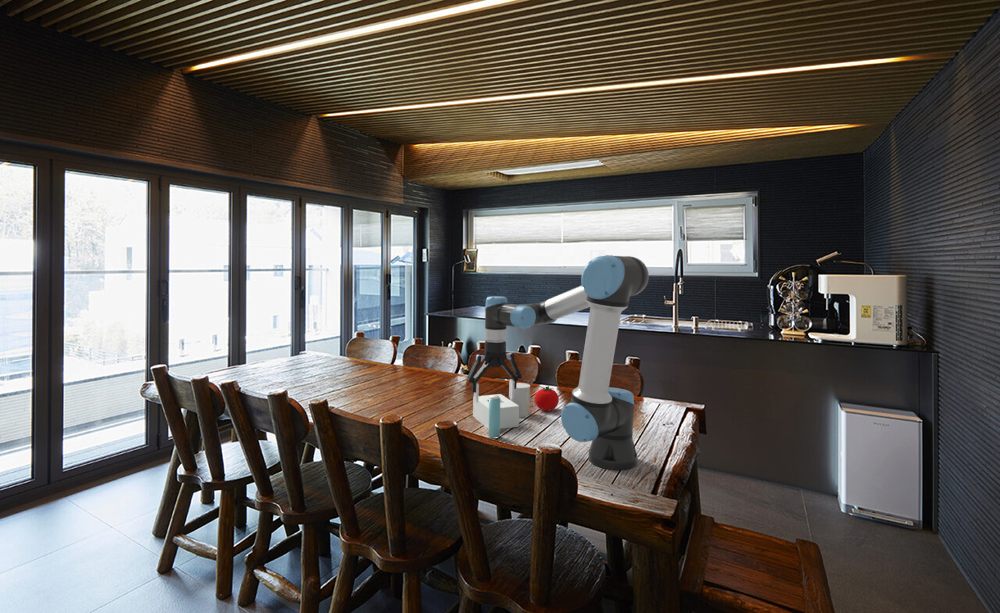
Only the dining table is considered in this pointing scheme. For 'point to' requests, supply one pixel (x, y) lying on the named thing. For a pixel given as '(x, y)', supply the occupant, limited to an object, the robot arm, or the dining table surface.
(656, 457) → the dining table surface
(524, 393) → the white cylinder
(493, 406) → the peg
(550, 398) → the tomato
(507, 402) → the socket
